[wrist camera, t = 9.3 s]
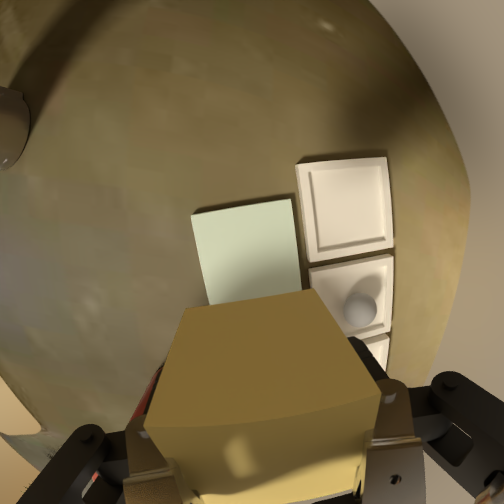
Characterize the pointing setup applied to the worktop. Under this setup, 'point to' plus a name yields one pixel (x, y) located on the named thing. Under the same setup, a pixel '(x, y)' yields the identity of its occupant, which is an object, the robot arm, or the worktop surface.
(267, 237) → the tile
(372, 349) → the dish
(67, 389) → the worktop surface
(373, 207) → the dish
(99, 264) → the worktop surface
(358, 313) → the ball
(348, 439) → the letter block
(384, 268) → the dish
